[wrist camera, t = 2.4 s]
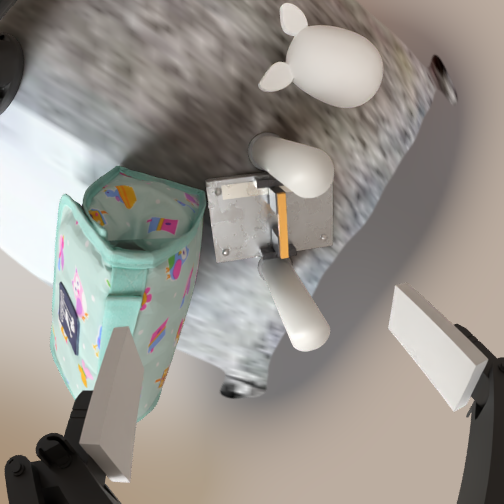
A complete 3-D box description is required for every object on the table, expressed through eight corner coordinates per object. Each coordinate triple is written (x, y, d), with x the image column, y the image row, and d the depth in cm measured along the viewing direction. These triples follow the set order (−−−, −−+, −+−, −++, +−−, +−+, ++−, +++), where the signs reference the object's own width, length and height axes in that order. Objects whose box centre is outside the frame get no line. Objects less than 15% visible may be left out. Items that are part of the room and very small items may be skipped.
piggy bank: (359, 66, 41) (267, 34, 38) (398, 34, 30) (288, -12, 27) (350, 134, 42) (249, 103, 39) (395, 112, 31) (268, 65, 28)
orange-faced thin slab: (272, 246, 46) (279, 259, 42) (268, 187, 43) (276, 194, 39) (282, 245, 46) (289, 257, 43) (278, 186, 43) (287, 193, 39)
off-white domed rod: (249, 171, 44) (282, 205, 28) (246, 134, 42) (278, 144, 26) (286, 168, 45) (338, 199, 29) (284, 131, 42) (337, 141, 26)
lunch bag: (107, 154, 40) (4, 208, 15) (216, 187, 44) (244, 278, 20) (80, 291, 47) (22, 419, 23) (172, 317, 52) (169, 459, 27)
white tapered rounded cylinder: (259, 283, 52) (288, 357, 35) (256, 252, 49) (287, 321, 33) (291, 277, 52) (331, 348, 36) (290, 247, 50) (334, 312, 34)
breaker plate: (215, 257, 48) (217, 269, 45) (205, 179, 43) (206, 185, 40) (327, 240, 51) (337, 250, 47) (327, 166, 46) (338, 171, 42)
